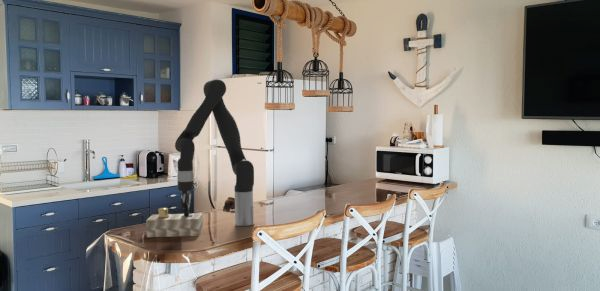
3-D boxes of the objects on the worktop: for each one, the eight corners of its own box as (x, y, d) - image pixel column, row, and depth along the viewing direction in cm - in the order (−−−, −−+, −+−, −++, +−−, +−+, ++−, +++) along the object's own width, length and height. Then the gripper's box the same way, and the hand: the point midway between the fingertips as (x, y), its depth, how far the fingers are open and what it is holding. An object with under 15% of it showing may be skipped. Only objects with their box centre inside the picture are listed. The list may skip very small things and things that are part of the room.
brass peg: (169, 222, 230) (168, 207, 229) (167, 224, 226) (166, 209, 225) (159, 222, 230) (159, 207, 229) (157, 224, 225) (157, 209, 225)
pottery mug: (219, 210, 283) (224, 197, 286) (233, 215, 287) (238, 202, 290) (226, 208, 273) (231, 194, 276) (241, 214, 276) (245, 200, 279)
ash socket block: (202, 229, 235) (202, 213, 234) (199, 235, 223) (198, 218, 222) (153, 230, 234) (152, 214, 233) (146, 237, 222) (146, 220, 221)
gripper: (191, 181, 220) (192, 218, 222) (195, 177, 234) (196, 212, 235) (174, 182, 220) (175, 219, 221) (180, 178, 233) (181, 213, 234)
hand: (186, 215), depth 228 cm, fingers closed
